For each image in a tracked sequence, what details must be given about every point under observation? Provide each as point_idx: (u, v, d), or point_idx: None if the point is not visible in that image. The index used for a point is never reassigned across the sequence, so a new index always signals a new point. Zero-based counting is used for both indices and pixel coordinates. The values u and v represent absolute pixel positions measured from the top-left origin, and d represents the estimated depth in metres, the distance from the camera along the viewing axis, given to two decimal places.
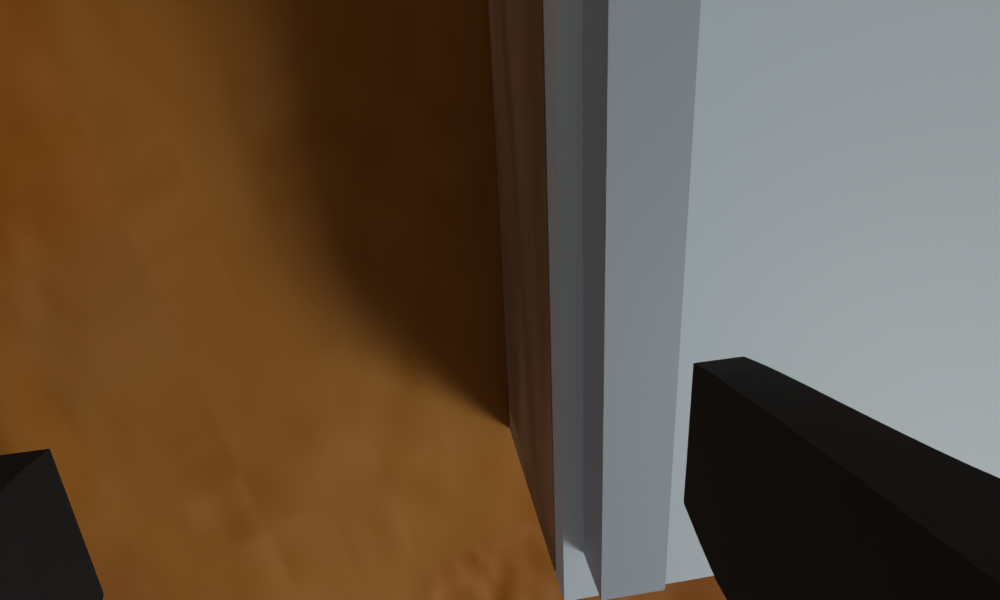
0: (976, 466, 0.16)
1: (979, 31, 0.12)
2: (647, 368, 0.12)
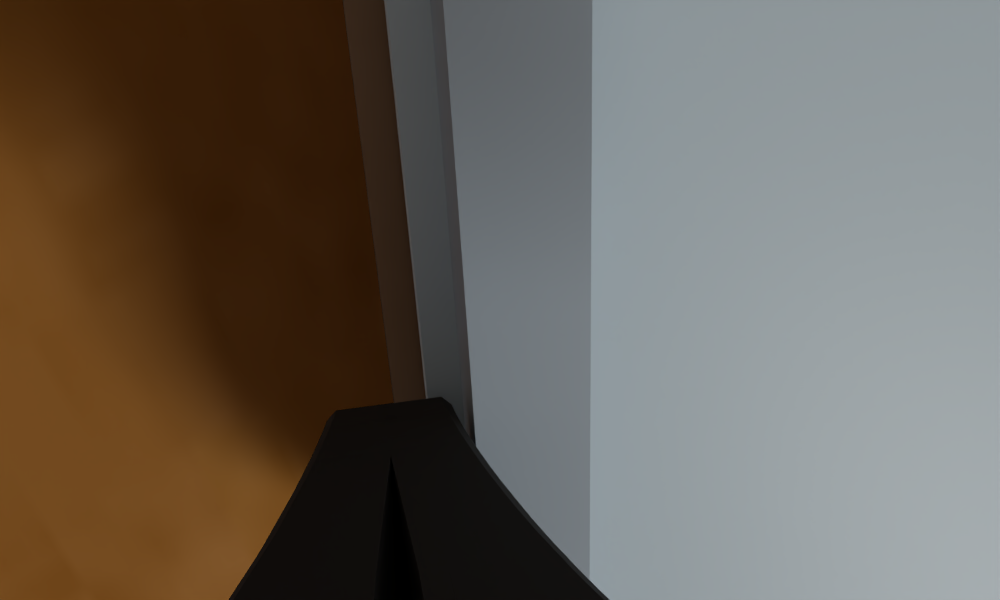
0: None
1: None
2: None
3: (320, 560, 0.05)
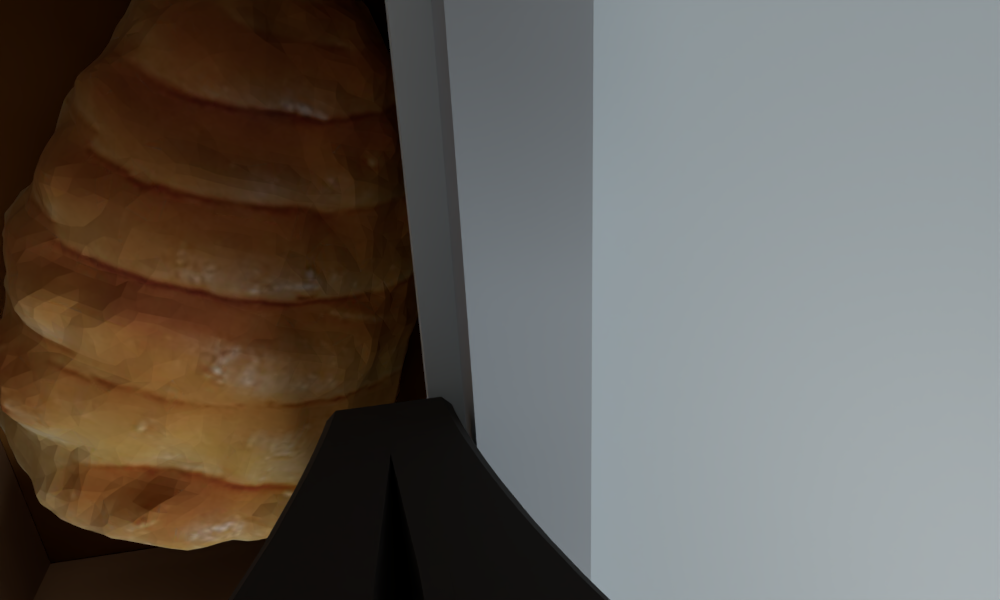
0: None
1: None
2: None
3: (319, 560, 0.05)
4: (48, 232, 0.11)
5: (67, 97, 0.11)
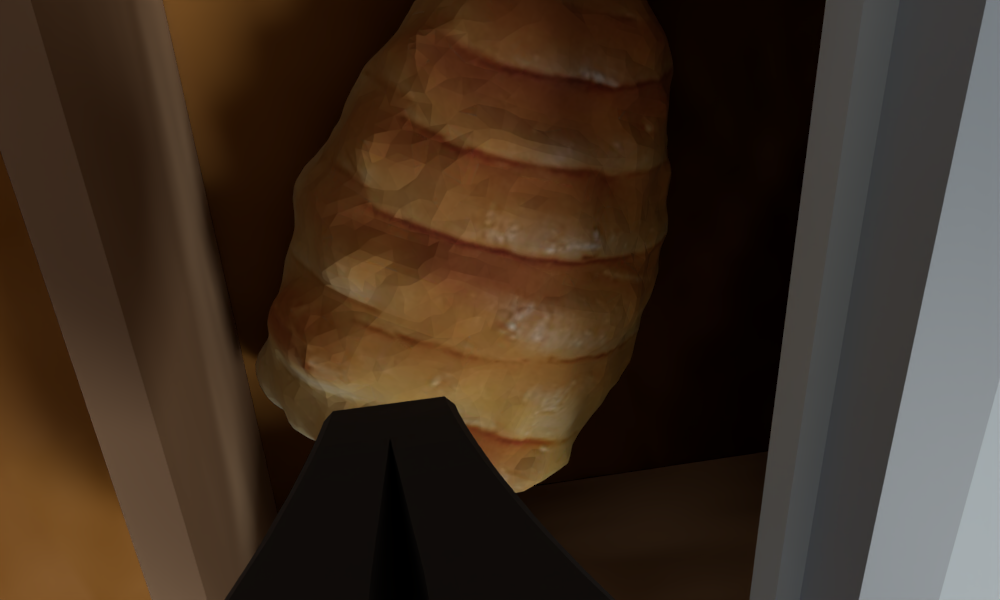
0: None
1: None
2: (935, 479, 0.09)
3: (315, 561, 0.05)
4: (360, 196, 0.11)
5: (366, 69, 0.12)
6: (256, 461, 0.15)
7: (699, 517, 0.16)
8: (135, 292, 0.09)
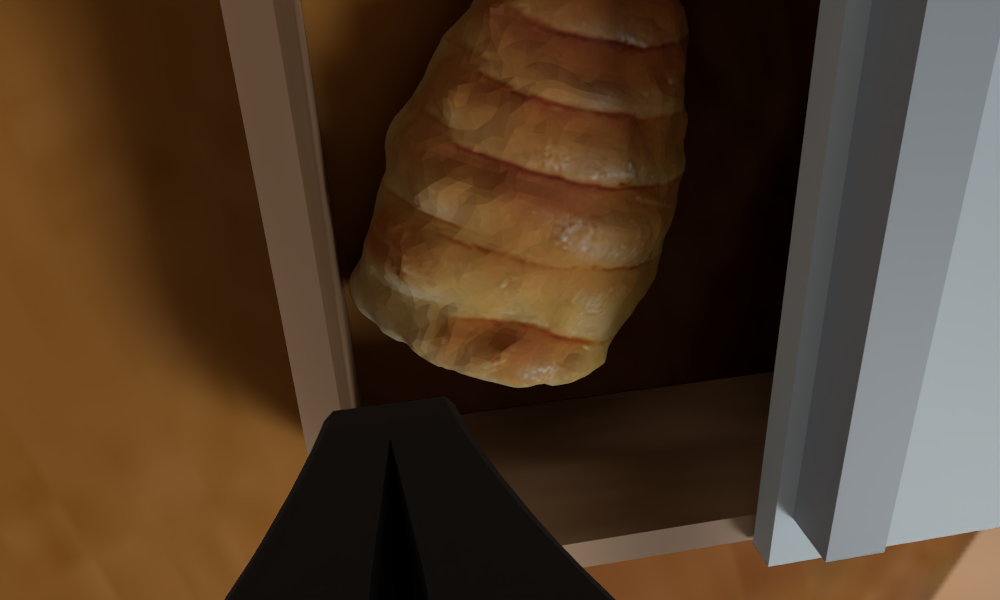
0: None
1: None
2: (905, 334, 0.12)
3: (315, 561, 0.05)
4: (445, 136, 0.15)
5: (447, 37, 0.15)
6: (353, 366, 0.18)
7: (718, 419, 0.20)
8: (308, 195, 0.12)
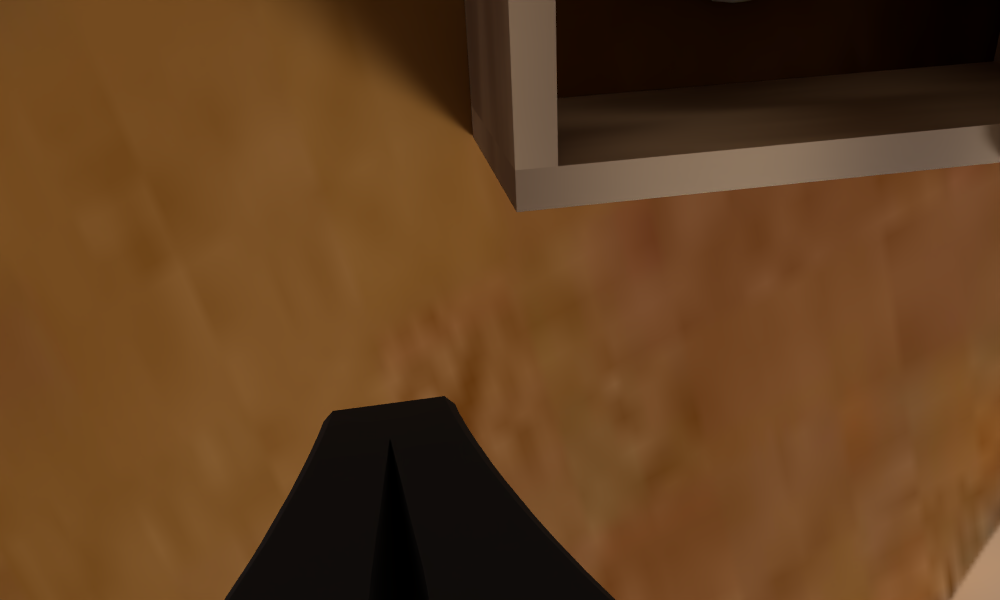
0: None
1: None
2: None
3: (315, 561, 0.05)
4: None
5: None
6: None
7: (922, 84, 0.17)
8: None
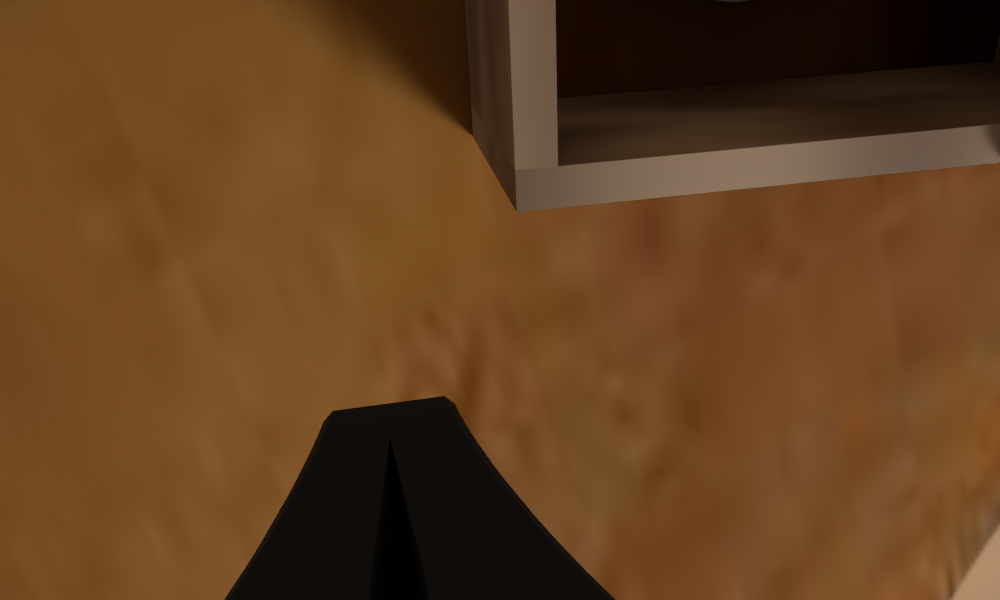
0: None
1: None
2: None
3: (315, 561, 0.05)
4: None
5: None
6: None
7: (922, 84, 0.17)
8: None
